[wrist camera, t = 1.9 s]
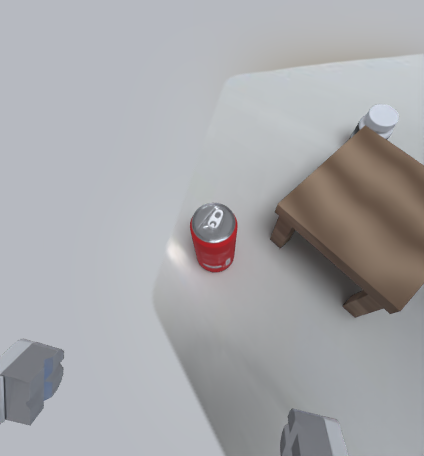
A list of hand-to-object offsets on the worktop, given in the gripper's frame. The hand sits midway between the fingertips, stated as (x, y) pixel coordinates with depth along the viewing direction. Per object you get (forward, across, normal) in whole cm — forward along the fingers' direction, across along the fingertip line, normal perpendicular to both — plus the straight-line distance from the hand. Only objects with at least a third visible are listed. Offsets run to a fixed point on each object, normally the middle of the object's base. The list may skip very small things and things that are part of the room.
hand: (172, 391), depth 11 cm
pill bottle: (+46, -18, -8) cm, 51 cm away
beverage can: (+32, +1, +9) cm, 34 cm away
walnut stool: (+36, -17, +4) cm, 40 cm away
